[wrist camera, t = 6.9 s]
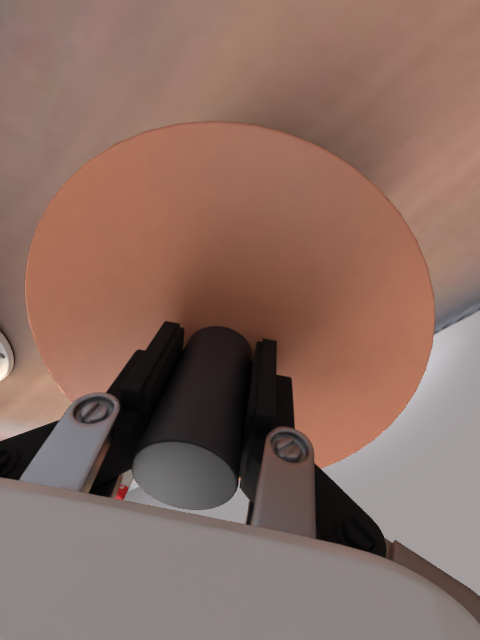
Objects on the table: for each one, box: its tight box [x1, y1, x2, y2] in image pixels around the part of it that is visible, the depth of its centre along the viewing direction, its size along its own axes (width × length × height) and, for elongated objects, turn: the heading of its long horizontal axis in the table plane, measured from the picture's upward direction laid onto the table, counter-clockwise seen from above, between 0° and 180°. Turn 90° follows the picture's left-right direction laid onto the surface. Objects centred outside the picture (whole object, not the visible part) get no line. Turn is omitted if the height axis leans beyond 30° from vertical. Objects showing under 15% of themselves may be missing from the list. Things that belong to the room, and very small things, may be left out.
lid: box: [25, 121, 435, 510], centre depth 11 cm, size 16×16×7 cm
